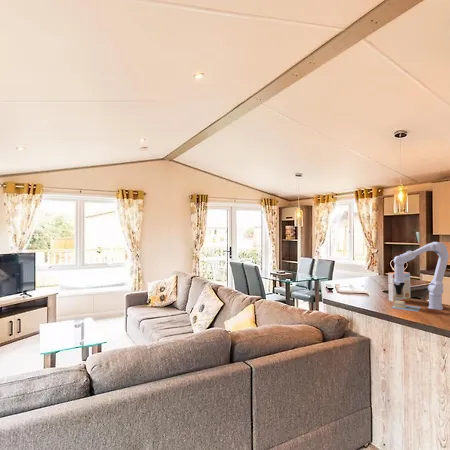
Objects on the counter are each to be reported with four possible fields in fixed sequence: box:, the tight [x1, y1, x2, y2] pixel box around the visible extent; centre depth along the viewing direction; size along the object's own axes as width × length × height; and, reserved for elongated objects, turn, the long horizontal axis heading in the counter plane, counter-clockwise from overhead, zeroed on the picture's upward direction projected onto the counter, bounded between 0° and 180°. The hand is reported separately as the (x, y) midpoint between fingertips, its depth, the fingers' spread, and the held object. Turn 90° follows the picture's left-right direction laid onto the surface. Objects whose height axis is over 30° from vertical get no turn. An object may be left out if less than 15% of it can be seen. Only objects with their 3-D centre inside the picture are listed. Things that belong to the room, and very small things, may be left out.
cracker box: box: [387, 271, 412, 303], centre depth 242 cm, size 14×6×21 cm, turn 100°
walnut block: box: [396, 289, 403, 298], centre depth 226 cm, size 4×4×5 cm
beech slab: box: [393, 301, 406, 308], centre depth 226 cm, size 6×6×3 cm
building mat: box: [390, 304, 422, 313], centre depth 223 cm, size 14×16×1 cm
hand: (399, 293), depth 226 cm, fingers closed on walnut block, 4 cm apart
